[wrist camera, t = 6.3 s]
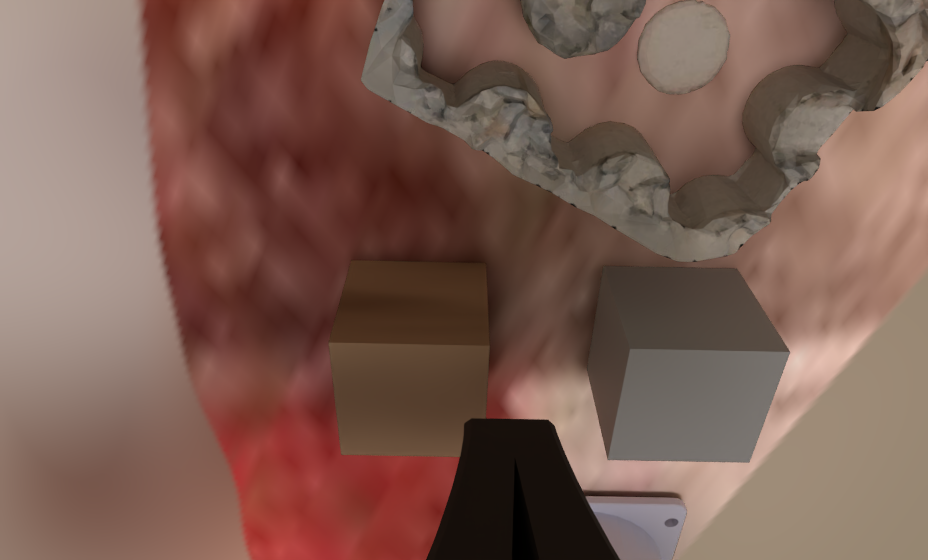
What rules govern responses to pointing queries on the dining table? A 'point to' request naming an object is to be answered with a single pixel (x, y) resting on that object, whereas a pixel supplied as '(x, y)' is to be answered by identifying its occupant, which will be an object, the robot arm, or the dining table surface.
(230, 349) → the dining table surface
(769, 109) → the grey piece
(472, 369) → the walnut block
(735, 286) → the slate-grey block
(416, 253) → the dining table surface
